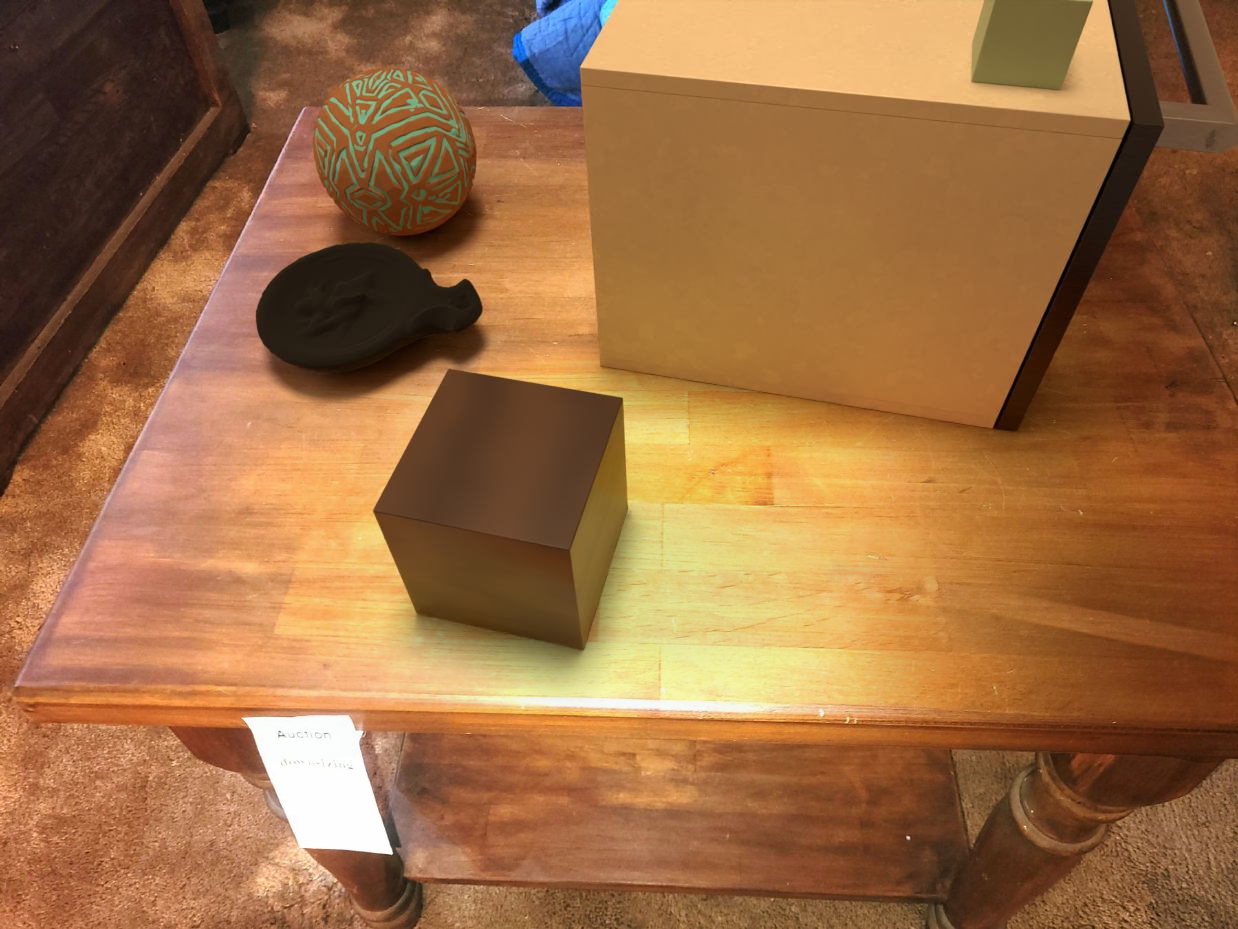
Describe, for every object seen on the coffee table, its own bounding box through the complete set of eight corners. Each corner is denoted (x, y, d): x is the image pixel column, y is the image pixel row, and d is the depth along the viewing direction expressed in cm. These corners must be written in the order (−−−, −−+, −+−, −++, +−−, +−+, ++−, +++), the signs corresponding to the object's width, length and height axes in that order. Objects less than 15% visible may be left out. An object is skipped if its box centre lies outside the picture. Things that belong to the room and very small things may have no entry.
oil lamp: (467, 408, 72) (456, 364, 68) (243, 391, 74) (220, 348, 70) (505, 290, 81) (497, 246, 78) (304, 279, 83) (287, 235, 80)
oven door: (1069, 159, 91) (1183, -124, 72) (1099, 444, 67) (1285, 136, 47) (993, 151, 93) (1084, -129, 73) (996, 428, 69) (1134, 122, 49)
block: (1056, 49, 54) (1087, -38, 50) (1060, 90, 51) (1094, 0, 47) (972, 42, 55) (996, -44, 51) (970, 82, 52) (996, -7, 48)
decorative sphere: (460, 275, 83) (428, 128, 71) (314, 259, 85) (260, 114, 74) (505, 185, 92) (483, 42, 81) (372, 172, 95) (332, 31, 83)
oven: (990, 152, 93) (1082, -131, 73) (992, 428, 69) (1131, 119, 49) (693, 121, 99) (703, -149, 79) (600, 366, 75) (579, 66, 55)
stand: (628, 508, 65) (623, 397, 56) (583, 650, 58) (569, 550, 49) (476, 479, 67) (448, 367, 58) (416, 613, 60) (371, 510, 51)
